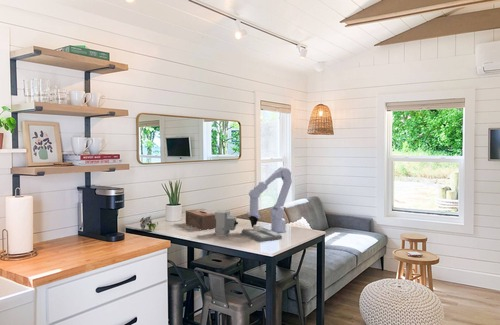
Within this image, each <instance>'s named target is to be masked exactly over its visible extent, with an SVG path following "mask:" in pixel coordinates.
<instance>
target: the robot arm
mask: <svg viewBox="0 0 500 325" xmlns="http://www.w3.org/2000/svg"><path fill="white" fill-rule="evenodd" d="M276 179H281V180H282V182H283V183H282V185H281V189H280V192H279V194H278V196H277V199H276V203H275V204H274V205H273V206H272V208H271V209H270V211H269V212H270V213H269V214H270V216H271V220H270V221H271V222H270V223H271V224H270V225H271V226H270V228H271V229H270V230H271V231H273V232H276V233H278V234H280V233H286V232H287V230H286V229H287V226H286V225H287V224H286V222H287V220H285V218H284V211H285V208H284V205H285V203H286V200H287V197H288V193H289V191H290V188H291V185H292V182H293V181H292V180H293V179H292V172H291V170H290V169H289V168H287V167H283V166H281V167H278V168H277V169H276V170H274V171H273V173H271V175H270V176H269V177H268V178H266V180H264V181H259V182H258V184H257V185H256V186H254V187H253V189H250V191H249V192H248V196H249V211H247V212H246V213H247V216H249V217H248V219H249V221H250V224H251V229H253V225H258V224H257V223H258V221H259V219H261V218H262V216H261V215H260V214H259V198H260V196H261V194H262V193H263V192H265V191H266V190H267V189H268V186H269V185H270V184H271V183H272V182H274V181H275V180H276Z"/></svg>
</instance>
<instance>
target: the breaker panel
mask: <svg viewBox="0 0 500 325" xmlns="http://www.w3.org/2000/svg"><path fill="white" fill-rule="evenodd" d="M241 234H243V235H245V236H246V237H249V238H252V239H254V240H255V241H257V242H259V243H260V242H261V243H262V242H268V241H274V240H275V241H276V240H281V239H282V238H283V236H282V234H280V233H276V232H273V231H271V229H268V228H265V227H262V226H260V231H255V230H253V228H249V227H247V228H242V229H241Z"/></svg>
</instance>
